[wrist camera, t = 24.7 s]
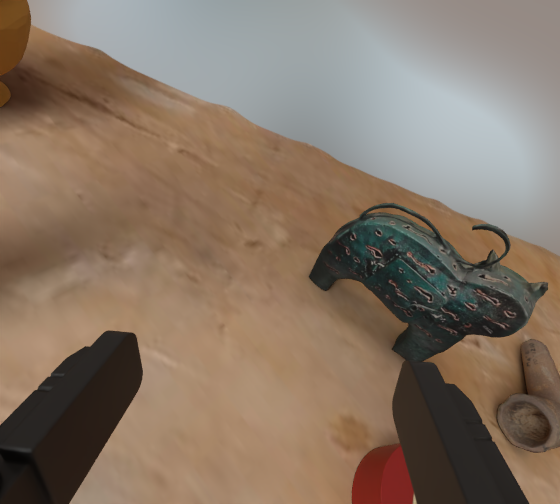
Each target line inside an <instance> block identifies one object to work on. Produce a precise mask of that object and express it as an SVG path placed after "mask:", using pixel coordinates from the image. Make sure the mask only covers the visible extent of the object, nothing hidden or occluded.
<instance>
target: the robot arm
mask: <svg viewBox="0 0 560 504" xmlns="http://www.w3.org/2000/svg"><path fill="white" fill-rule="evenodd" d="M142 376H143V370H142V364H141V359H140V353H139V348H138V342H137V338H136V335H135V334H134V333H129V332H119V331H106V332H104V333H103V334H102V335H101V336H100V337H99V338H98V339H97V340H96V341H95V342H94V344H93V345H92V346H91V347H86V346H85V347H84V348H82V349H81V350H79V351H77V352H76V353H74V354H73V355H71V356H69V357H68V358H66V359H65V360H64V361H63V362H62V363H61V364H60V365H59V366H58V367H57V368H56V369H55V370H54V371H53V372H52V373H51V376H50V377H47V378H46V379H45V380H44V382H43V383H42V384H41V385H40V386H39V387H38V390H35V391H34V392H33V393H32V394H31V395H30V396H29V397H28V398H27V399H26V400H25V401H24V402H23V403H22V404H21V405H20V406H19V407H18V408H17V409H16V410H15V411H14V412H13V413H12V414H11V415H10V416H9V417H8V418H7V419H6V420H5V421H4V422H3V423H2V424H1V425H0V504H69V503H70V501H71V500H72V498H73V496H74V495H75V493H76V491H77V490H78V488H79V487H80V485H81V483H82V482H83V480H84V478H85V477H86V475H87V474H88V472H89V470H90V469H91V467H92V465H93V464H94V462H95V460H96V459H97V457H98V456H99V454H100V452H101V451H102V449H103V447H104V446H105V444H106V442H107V441H108V439H109V438H110V436H111V434H112V433H113V431H114V429H115V428H116V426H117V425H118V423H119V421H120V420H121V418H122V416H123V415H124V413H125V411H126V410H127V408H128V407H129V405H130V403H131V402H132V400H133V398H134V397H135V395H136V393H137V392H138V390H139V387H140V385H141V381H142ZM392 410H393V418H394V422H395V426H396V430H397V433H398V437H399V440H400V444H401V447H402V451H403V455H404V458H405V462H406V465H407V469H408V473H409V476H410V480H411V483H412V487H413V491H414V494H415V498H416V501H417V504H529V502H528V500H527V499H526V497H525V495H524V493H523V492H522V490H521V488H520V486H519V485H518V483H517V481H516V479H515V477H514V476H513V474H512V472H511V470H510V469H509V467H508V465H507V463H506V462H505V460H504V458H503V456H502V454H501V453H500V451H499V449H498V447H497V446H496V444H495V442H493V441H492V437H491V435H490V433H489V431H488V430H487V428H486V426H485V425H483V423H482V419H481V417H480V416H479V414H478V412H477V410H476V409H475V407H474V405H473V403H472V401H471V400H470V399H469V398H468V397H467V396H466V395H465V394H464V393H463V392H462V391H461V390H460V389H459V388H458V387H457V386H456V385H455V384H446V383H445V382H444V380H443V378H442V376H441V374H440V372H439V370H438V368H437V366H436V365H435V364H434V363H431V362H421V361H410V360H405V361H404V362H403V364H402V368H401V371H400V375H399V378H398V382H397V385H396V389H395V392H394V396H393V403H392Z"/></svg>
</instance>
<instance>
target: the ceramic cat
mask: <svg viewBox="0 0 560 504" xmlns="http://www.w3.org/2000/svg"><path fill="white" fill-rule="evenodd" d="M379 208H396V209H399V210H402V211H404V212H406V213H408V214H410V215H412V216H415V217H417V218H419V219H420V220H422V221H423V222H425V223H426V224H427V225H428V226H429V227H430V228H431V229H432V230H433V232H432V231H430V230H428V229H426V228H424V227H421V226H419V225H418V224H416V223H415V222H413V221H412V220H410V219H408V218H406V217H404V216H400V215H393V214H389V213H381V212H379V213H371V214H367V213H368V212H370V211H372V210H374V209H379ZM366 214H367V215H366ZM478 229H483V230H489V231H493V232H494V233H496V234H498V235H499V236H500V237H501V238H502V239H503V240H504V242H505V246H506V250H505V253H504V254H503V255H502V256H501V257H500V258H498V256H497V255H496V253H495V251H494V250H492V251H490V253H489V255H488V257H487V260H484V261H482V262H478V263H475V264H472V263H469V262H466V261H465V260H464V259H463V258H462V257H461V256H460V255H459V254H458V252H457V251H456V250H455V248H454V247H453V246H452V245H451V244H450V243H449V242H448V241H446V240H445V239H443V238H442V236H441V235H440V233H439V232H438V230H437V229H436V228H435V227H434V226H433V225H432V223H431V222H430V221H429V220H428V219H426V218H425V217H423V216H421V215H419V214H418V213H416V212H415V211H413V210H410V209H408V208H406V207H404V206H400V205H397V204H394V203H383V204H379V205H376V206H373V207H371V208H369V209H367V210H366V211H364V212H363V213H361V215H360V217H359V218H357V219H355V220H353V221H350V222H348V223H347V224H345V225H344V226H342V227H341V228H340V229H339V230H338V231H337V232H336V233H335V235H334V236H333V238H332V239H331V240H330V241H329V242H328V243H327V244H326V245H325V246H324V248H323V249H322V251H321V253H320V255H319V257H318V259H317V261H316V263H315V265H314V267H313V269H312V271H311V273H310V275H309V278H310V279H311V280H312V281H313V282H314V283H315V284H316V285H317V286H318V287H320V288H321V289H323V290H325V291H326V290H328V288H329V287H330V286H331V285H332V284H333V283H334V282H335V281H336V280H338V279H353V280H357V281H360V282H362V283H363V284H364V285H365V286H366V287H367V288H368V289H369V290H370V291H372V292H373V293H374V294H375V295H376V296H377V297H378V298H379V299H380V300H381V301H382V302H383V304H384V305H385V306H386V307H387V308H388V309H389V310H390V311H391V312H392V313H393V314H394V315H395V316H396V317H397V318H398V319H399V320H401V321H402V322H404V323H408V327H407V329H406V330H405V331H404V332H403V333H402V334H400V335H399V337H398V338H397V340H396V342H395V345H394V347H393V348H392V350H394V351H395V352H396V353H398V354H400V355H401V356H402V357H403V358H405V359H406V360H410V361H421V362H422V361H424V360H426V359H428V358H430V357H432V356H434V355H436V354H438V353H441V352H444V351H445V350H447V349H448V348H450V347H451V346H453V345H454V344H456V343H457V342H459V341H460V340H462V339H463V338H464V337H465V336H466V335H471V334H475V335H483V336H489V337H505V336H509V335H512V334H514V333H515V332H517V331H518V330H520V329H521V328H523V327H524V326H525V325H526V324H527V322H528V320H529V318H530V316H531V314H532V312H533V309H534V307H535V303H536V302H537V300H538V299H539V298H540V297H542V296H543V295H544V293H545V292H546V291H547V290H548V283H546V282H540V283H528V282H527V281H526V280H525V279H524V278H523V277H521V276H520V275H519V274H517V273H516V272H514V271H512V270H511V269H509V268H507V267H505V266H502V265H500V263H499V261H500V260H501V259H502V258H503V257H505V256H506V255H507V253H508V251H509V250H510V246H511V245H510V241H509V238H508V236H507V235H506V233H505V232H504V231H503V230H501V229H500V228H498V227H496V226H493V225H490V224H479V225H475V226H473V227H472V230H478Z"/></svg>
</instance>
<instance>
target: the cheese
mask: <svg viewBox="0 0 560 504" xmlns="http://www.w3.org/2000/svg"><path fill="white" fill-rule="evenodd" d="M352 504H417V501H416V498H415V494H414V491H413V487H412V483H411V480H410V476H409V473H408V469H407V465H406V462H405V458H404V455H403V451H402V447H401V444H400V443H399V444H394V445H388V446H383V447H378V448H376V449H373V450H372V451H370V452H369V453H368V454H367V455H366V456H365V457H364V458H363V459H362V461H361V462H360V464H359V466H358V468H357V471H356V473H355V477H354V481H353V487H352Z"/></svg>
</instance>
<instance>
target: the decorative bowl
mask: <svg viewBox="0 0 560 504" xmlns="http://www.w3.org/2000/svg"><path fill="white" fill-rule="evenodd" d="M30 26H31V15H30V10H29V5H28V2H27V0H0V76H1V75H3V74H5V73H7V72H9V71H10V70H12V69H13V68H14V67H15V66H16V65H17V64H18V63H19V61H20V60H21V59H22V57H23V55H24V52H25V49H26V46H27V43H28V37H29V32H30ZM10 96H11V94H10V90H9V89H8V87H7V86H6V85H5V84H4V83H3V82H2V81H0V107H2V106H3V105H4V104H5V103H6V102H7V101H8V100H9V99H10Z"/></svg>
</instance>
